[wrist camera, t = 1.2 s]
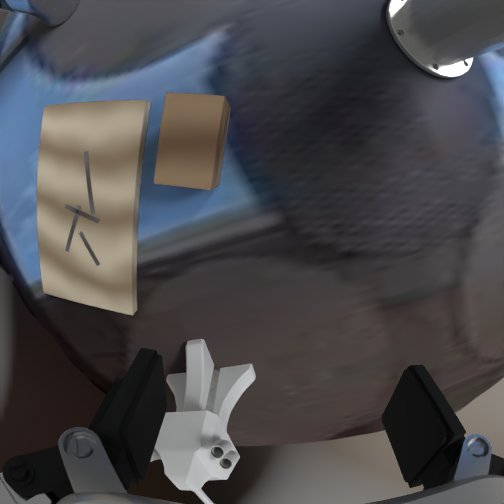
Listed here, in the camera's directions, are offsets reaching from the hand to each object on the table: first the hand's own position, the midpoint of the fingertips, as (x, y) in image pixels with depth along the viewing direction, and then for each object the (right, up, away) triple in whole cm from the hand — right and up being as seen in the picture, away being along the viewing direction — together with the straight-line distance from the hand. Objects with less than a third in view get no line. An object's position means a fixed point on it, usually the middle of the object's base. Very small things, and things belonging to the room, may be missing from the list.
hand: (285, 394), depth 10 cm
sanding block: (-6, +16, +19) cm, 26 cm away
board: (-20, +10, +21) cm, 31 cm away
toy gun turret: (-7, -12, +28) cm, 31 cm away
